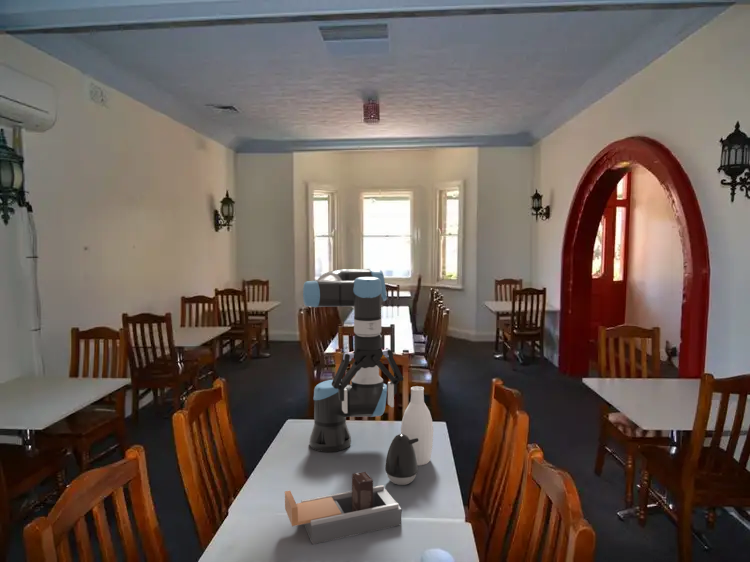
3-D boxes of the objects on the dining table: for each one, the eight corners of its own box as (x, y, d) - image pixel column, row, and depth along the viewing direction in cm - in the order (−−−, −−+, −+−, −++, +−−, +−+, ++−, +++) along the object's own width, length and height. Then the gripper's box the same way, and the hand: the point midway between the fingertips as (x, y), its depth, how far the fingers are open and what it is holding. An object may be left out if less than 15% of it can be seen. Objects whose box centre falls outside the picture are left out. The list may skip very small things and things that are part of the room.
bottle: (424, 470, 173) (424, 395, 171) (394, 462, 179) (395, 389, 177) (438, 457, 183) (439, 386, 180) (410, 450, 189) (410, 381, 186)
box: (373, 522, 142) (373, 480, 141) (358, 526, 141) (357, 483, 140) (366, 511, 148) (365, 470, 147) (350, 515, 146) (350, 473, 145)
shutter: (285, 508, 141) (284, 491, 140) (331, 499, 145) (331, 483, 145) (292, 526, 132) (291, 508, 132) (341, 516, 137) (341, 498, 137)
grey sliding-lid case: (300, 518, 145) (300, 499, 144) (383, 501, 154) (383, 483, 153) (312, 544, 133) (312, 523, 132) (401, 524, 141) (401, 505, 141)
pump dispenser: (416, 490, 160) (416, 442, 158) (382, 487, 162) (382, 439, 160) (420, 475, 170) (420, 429, 168) (388, 472, 172) (388, 427, 170)
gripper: (327, 340, 136) (328, 419, 139) (415, 333, 145) (414, 407, 147) (319, 334, 143) (321, 409, 146) (404, 327, 152) (403, 398, 154)
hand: (368, 408), depth 147 cm, fingers open, 13 cm apart
